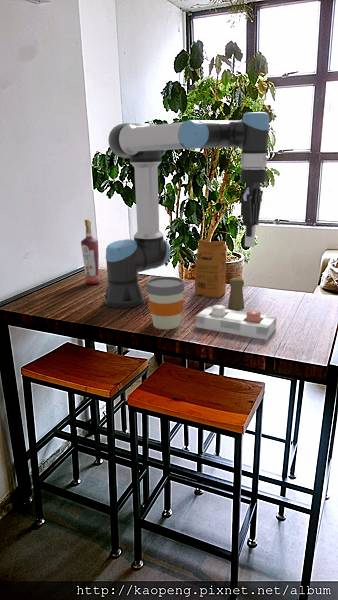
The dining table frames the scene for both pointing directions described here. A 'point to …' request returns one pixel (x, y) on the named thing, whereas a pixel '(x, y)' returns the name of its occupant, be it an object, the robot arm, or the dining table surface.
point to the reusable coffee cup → (165, 301)
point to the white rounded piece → (218, 311)
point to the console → (236, 323)
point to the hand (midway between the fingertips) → (249, 246)
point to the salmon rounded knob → (253, 316)
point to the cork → (236, 294)
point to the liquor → (90, 256)
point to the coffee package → (210, 269)
